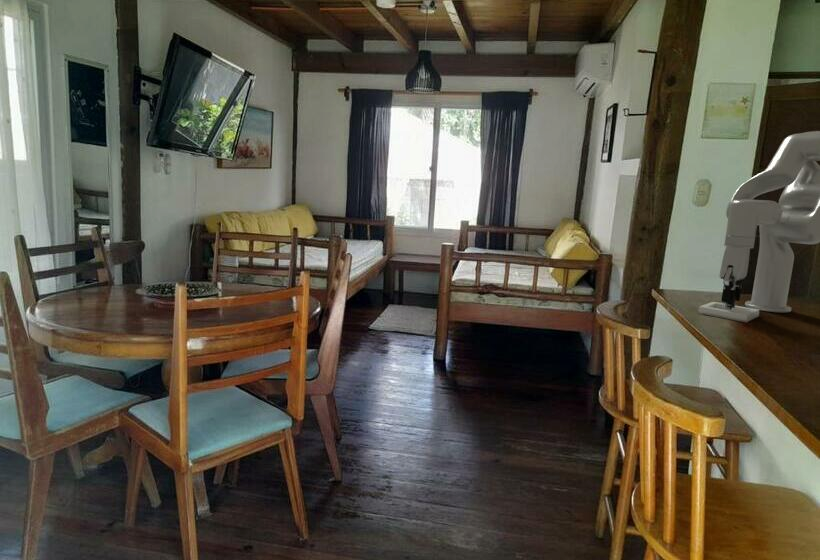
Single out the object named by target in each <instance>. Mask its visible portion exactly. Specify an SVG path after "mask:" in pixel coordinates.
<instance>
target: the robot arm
mask: <svg viewBox="0 0 820 560" xmlns="http://www.w3.org/2000/svg"><path fill="white" fill-rule="evenodd" d="M818 162H820V130H815V131H806V132H801V133H793V134H791V135H788V136H787V137H785V138H784V139H783V140H782V142H781V143H780V145H779V147H778V149H777V150H776V152H775V154H774V155H773V157H772V159H771V160H770V162H769V164H768V165H767V167H766V168H765V169H764V171H761V172H759V173H757V174H756V175H753V177H751V178H749V179H748V180H747V181H745V182H744V183H742V184H740V186H739V187H738V188H737V190H735V192H734V193H733V195H732V196H731V199H730V200H729V203H728V204H727V207H726V210H725V211H726V212H725V215H726V218H727V225H726V230H725V231H726V232H725V237H724V247H725V250H724V252H723V256H722V260H721V265H720V271H719V278H720V279H722V280H723V279H724V280H723V281H724V283H723V286H722V287H723V288H722V292H721V303H724V302H725V303H724V304H726V303H731V304H732V303H734V297H736V301H735V302H739V301H740V300H741V295H742V289H743V288H742V287H743V284H742V285H739V286H738V287H735V285H736V281H737V280H740V279H742V280H744V279H745V278H746V277H747V274H748V270H749V261H750V254H751V252H750V251H751V249H754V247H755V241H756V236H757V228H758V226H759V248H758V249H759V250H758V255H757V263H756V269H755V274H754V275H755V276H754V281H753V286H752V287H753V288H752V292H751V293H752V294H751V299H750V300H747V301H745V302H744V306H745V307H747V308H752V309H758V310H759V311H764V312H771V313H790V312H792V307H791V306H789V305H788V304H787V303H788V296H789V291H790V285H791V279H792V272H793V267H794V262H795V261H794V260H795V254H794V251H793V249H792V247H791V245H790V243H791V244H792V243H793V244H802V245H817V244H819V243H820V165H819V163H818ZM782 188H783V191H782V193H781V194H780V197H779V199H778V202H777V201H775V200H767V199H766V200H765V199H764V200H763V199H755V198H756V197H758V196H760V195H762V194H765V193H768V192H773V191H776V190H780V189H782ZM734 276H735V277H734ZM730 278H734V280H733V279H730ZM732 282H733V284H732ZM734 289H735V290H734Z"/></svg>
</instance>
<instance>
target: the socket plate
mask: <svg viewBox="0 0 820 560" xmlns="http://www.w3.org/2000/svg"><path fill="white" fill-rule="evenodd" d="M723 304H724V307H723ZM725 304H726V303H724V302H717V301H716V302H715V301H711V302H709V303H708V302H707V303H705V304H701V305H700V306H698V311H697V312H698V314H701V315H705V316H706V315H707V316H711V317H716V318H721V319H725V320H732V321H738V322H743V323H748V322H749V321H752V320H754V319H756V318H758V317H759V316H760V310H758V309H753V308H750V307H747V306H741V305H740V306H739V305H735V308H732V309H731V310H730V309H725Z"/></svg>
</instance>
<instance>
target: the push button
mask: <svg viewBox="0 0 820 560" xmlns="http://www.w3.org/2000/svg"><path fill="white" fill-rule="evenodd" d="M734 277H735V276H734ZM730 279H733V280H734V278H730ZM722 280H723V282H722V283H723V284H724V279H722ZM744 280H745V279H740V280H737V281H736V285H735V287H738V286H739V285H742V286H743V283H744ZM732 284H733V282H732ZM734 290H735V289H734ZM736 302H737V301H736V297H734V303H732V304H731V303H725V302H723V303H724V304H725V309H730V310H731V309H732V308H735V306H736ZM724 304H723V307H724Z"/></svg>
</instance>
